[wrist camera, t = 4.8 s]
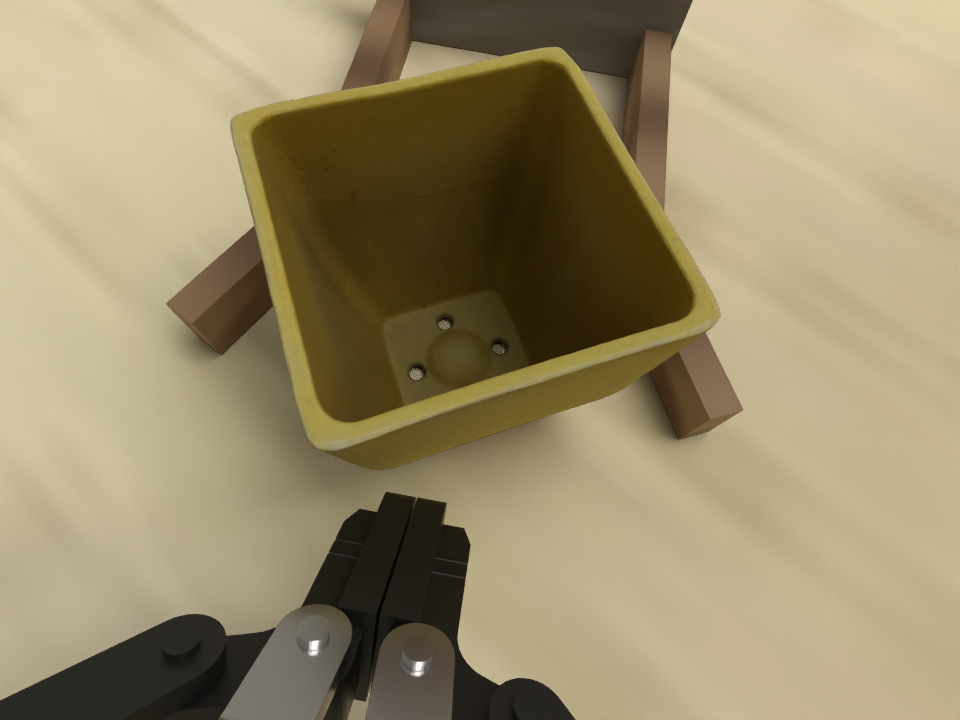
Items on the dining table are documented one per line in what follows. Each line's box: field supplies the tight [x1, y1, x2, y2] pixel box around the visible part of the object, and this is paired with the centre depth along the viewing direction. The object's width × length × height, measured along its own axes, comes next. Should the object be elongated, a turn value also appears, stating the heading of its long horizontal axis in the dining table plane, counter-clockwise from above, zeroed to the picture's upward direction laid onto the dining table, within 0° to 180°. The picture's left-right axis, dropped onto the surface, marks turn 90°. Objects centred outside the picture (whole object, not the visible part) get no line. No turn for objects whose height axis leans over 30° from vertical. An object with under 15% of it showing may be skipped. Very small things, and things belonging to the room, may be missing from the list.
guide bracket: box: [166, 0, 743, 439], centre depth 21 cm, size 20×19×6 cm
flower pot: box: [230, 47, 721, 470], centre depth 16 cm, size 9×9×9 cm
